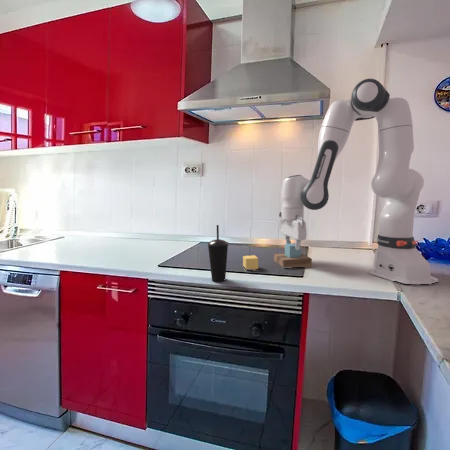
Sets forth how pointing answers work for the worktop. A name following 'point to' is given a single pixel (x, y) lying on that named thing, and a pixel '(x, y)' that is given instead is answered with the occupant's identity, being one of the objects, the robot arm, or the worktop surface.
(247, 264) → the mustard cube
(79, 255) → the worktop surface
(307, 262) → the walnut base
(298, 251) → the teal cube
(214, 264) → the drinking cup
